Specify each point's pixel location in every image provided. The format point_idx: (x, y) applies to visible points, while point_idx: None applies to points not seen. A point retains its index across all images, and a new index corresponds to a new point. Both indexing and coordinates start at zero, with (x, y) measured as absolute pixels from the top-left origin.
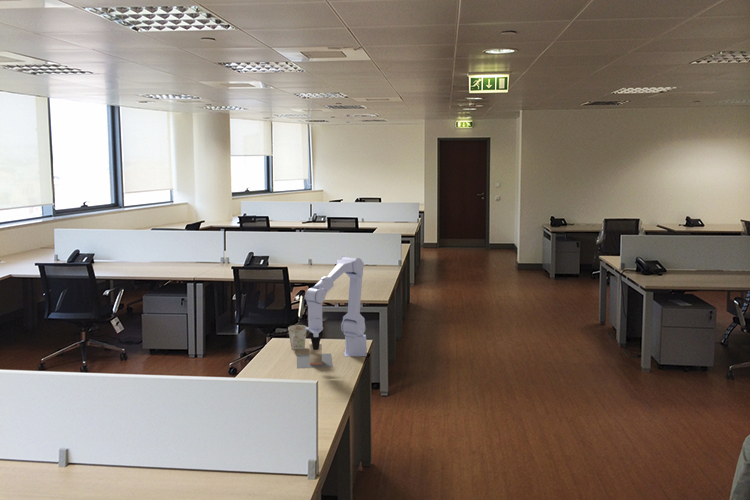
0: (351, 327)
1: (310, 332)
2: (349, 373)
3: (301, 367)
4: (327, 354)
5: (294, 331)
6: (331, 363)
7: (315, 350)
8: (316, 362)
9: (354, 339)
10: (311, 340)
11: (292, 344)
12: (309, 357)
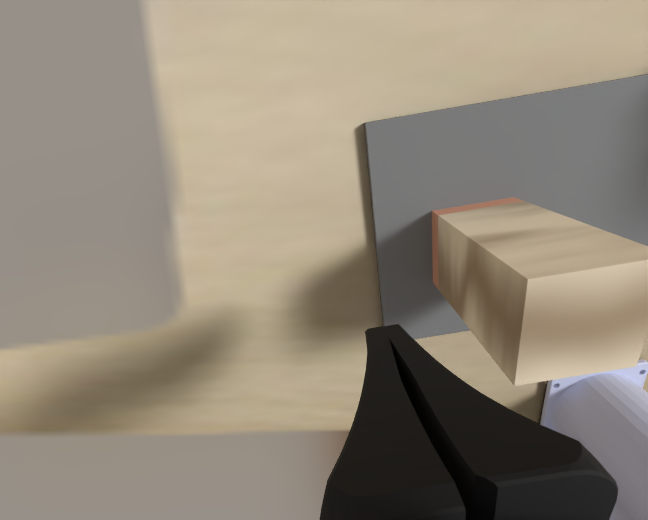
0: None
1: (540, 504)
2: (301, 413)
3: (384, 157)
4: None
5: None
6: (444, 329)
7: (482, 297)
8: (437, 258)
9: (631, 509)
10: (355, 415)
11: None
12: (598, 182)
